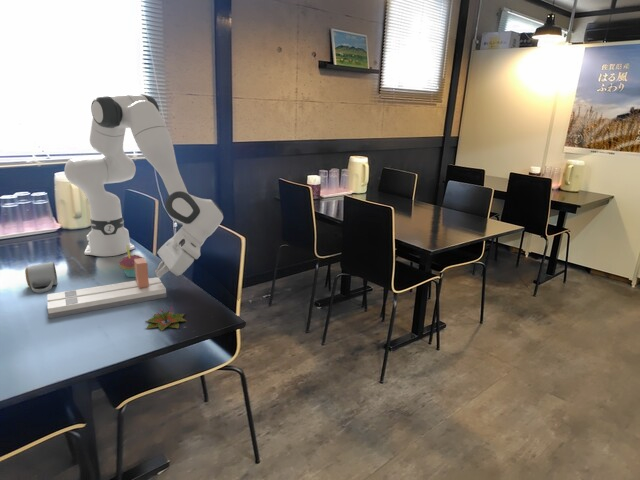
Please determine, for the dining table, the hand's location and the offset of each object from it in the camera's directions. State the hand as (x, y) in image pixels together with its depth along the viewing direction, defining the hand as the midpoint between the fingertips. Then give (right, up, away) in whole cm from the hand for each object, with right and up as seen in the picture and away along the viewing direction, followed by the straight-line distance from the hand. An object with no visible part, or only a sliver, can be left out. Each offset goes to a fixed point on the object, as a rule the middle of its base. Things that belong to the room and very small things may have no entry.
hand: (157, 275), depth 140 cm
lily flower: (+9, -12, -17) cm, 23 cm away
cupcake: (-14, -1, +15) cm, 20 cm away
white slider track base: (-13, -7, -6) cm, 16 cm away
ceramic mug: (-38, -4, +2) cm, 38 cm away
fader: (-4, -4, -1) cm, 6 cm away
